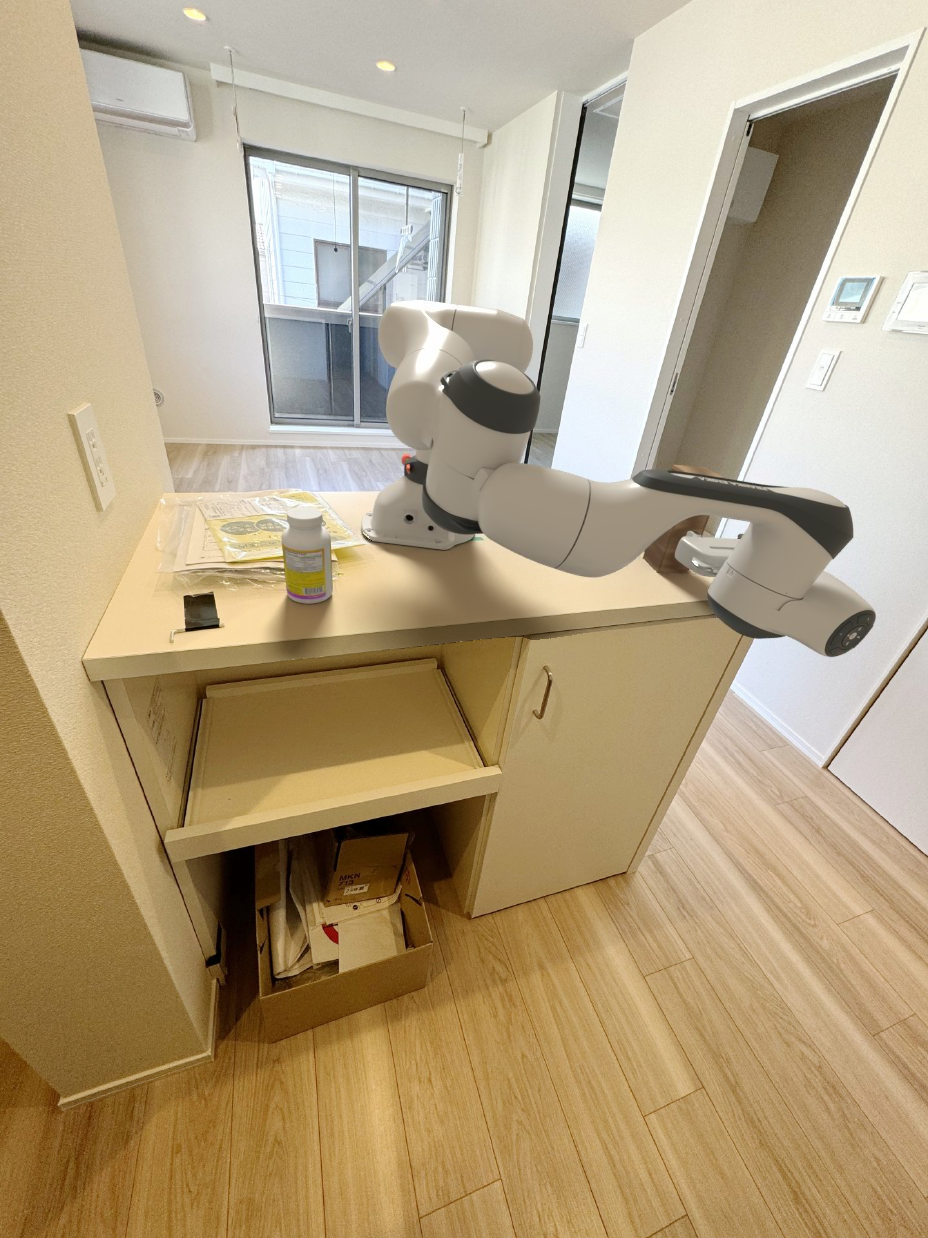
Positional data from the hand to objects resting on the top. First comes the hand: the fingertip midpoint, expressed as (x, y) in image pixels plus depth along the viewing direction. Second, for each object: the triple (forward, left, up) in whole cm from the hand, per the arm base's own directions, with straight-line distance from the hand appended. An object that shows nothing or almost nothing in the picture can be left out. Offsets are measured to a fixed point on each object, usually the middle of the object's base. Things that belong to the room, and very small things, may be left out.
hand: (715, 536), depth 85 cm
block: (0, +11, -11) cm, 15 cm away
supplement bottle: (-66, -4, -11) cm, 67 cm away
